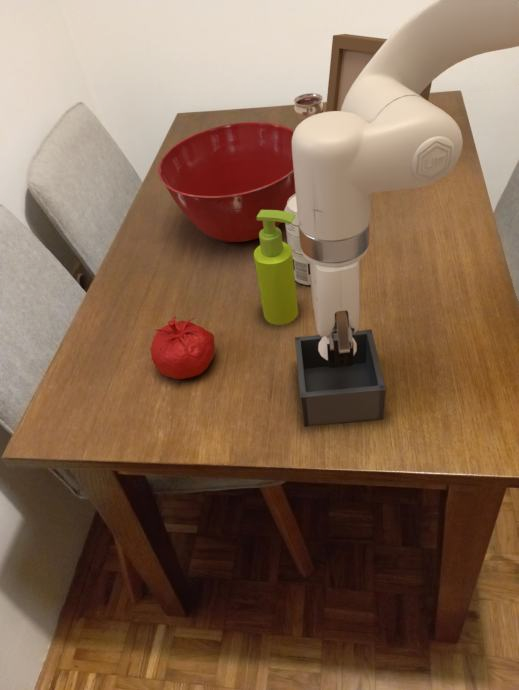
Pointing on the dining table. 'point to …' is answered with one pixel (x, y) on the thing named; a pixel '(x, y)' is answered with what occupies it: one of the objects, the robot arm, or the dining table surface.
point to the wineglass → (308, 105)
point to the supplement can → (297, 245)
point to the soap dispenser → (275, 269)
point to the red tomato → (182, 349)
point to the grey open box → (340, 383)
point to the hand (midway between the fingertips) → (337, 347)
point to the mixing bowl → (231, 177)
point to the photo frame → (351, 66)
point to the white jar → (325, 340)
